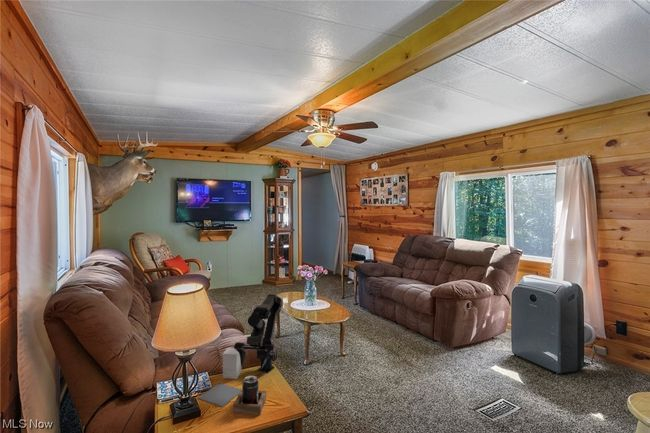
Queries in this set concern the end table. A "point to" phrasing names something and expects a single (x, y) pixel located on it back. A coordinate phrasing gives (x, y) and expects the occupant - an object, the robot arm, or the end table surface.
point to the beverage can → (250, 390)
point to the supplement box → (231, 363)
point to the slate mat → (220, 394)
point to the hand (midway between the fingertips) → (251, 367)
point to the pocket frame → (249, 405)
